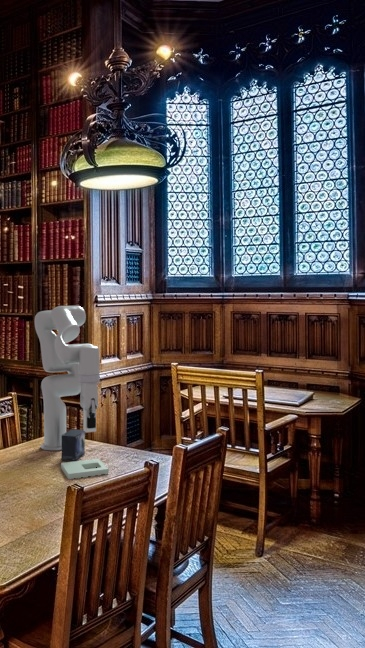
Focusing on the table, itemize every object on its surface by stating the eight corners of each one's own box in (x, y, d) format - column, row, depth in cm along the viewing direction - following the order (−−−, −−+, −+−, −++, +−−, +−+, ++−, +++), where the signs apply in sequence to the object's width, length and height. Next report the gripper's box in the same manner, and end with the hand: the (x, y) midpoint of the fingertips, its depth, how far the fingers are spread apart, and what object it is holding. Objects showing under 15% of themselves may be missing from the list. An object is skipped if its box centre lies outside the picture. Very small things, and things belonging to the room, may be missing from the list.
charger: (83, 430, 212) (83, 404, 211) (93, 429, 213) (93, 403, 212) (85, 432, 208) (85, 406, 207) (96, 431, 209) (96, 405, 209)
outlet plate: (61, 468, 215) (60, 463, 215) (98, 463, 221) (98, 458, 221) (68, 479, 202) (68, 474, 202) (108, 474, 208) (108, 468, 208)
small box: (75, 461, 223) (75, 436, 222) (60, 460, 224) (60, 435, 224) (85, 454, 233) (85, 429, 233) (71, 453, 235) (70, 428, 234)
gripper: (74, 376, 216) (75, 422, 217) (84, 382, 200) (85, 432, 201) (93, 375, 218) (94, 420, 220) (105, 381, 203) (105, 430, 204)
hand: (89, 426), depth 210 cm, fingers closed on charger, 4 cm apart
